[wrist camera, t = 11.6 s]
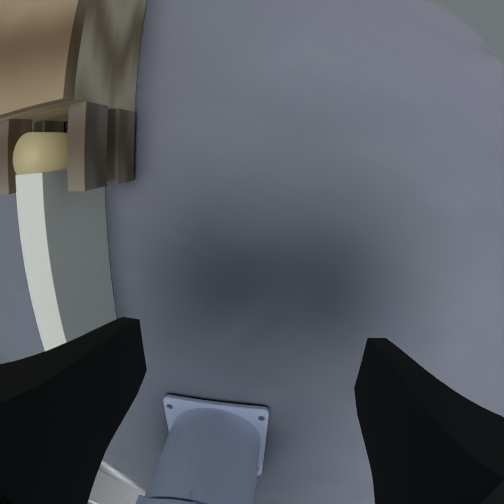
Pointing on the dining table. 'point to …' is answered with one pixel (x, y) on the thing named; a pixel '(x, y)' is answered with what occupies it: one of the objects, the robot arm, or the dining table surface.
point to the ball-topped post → (61, 242)
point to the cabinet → (71, 84)
